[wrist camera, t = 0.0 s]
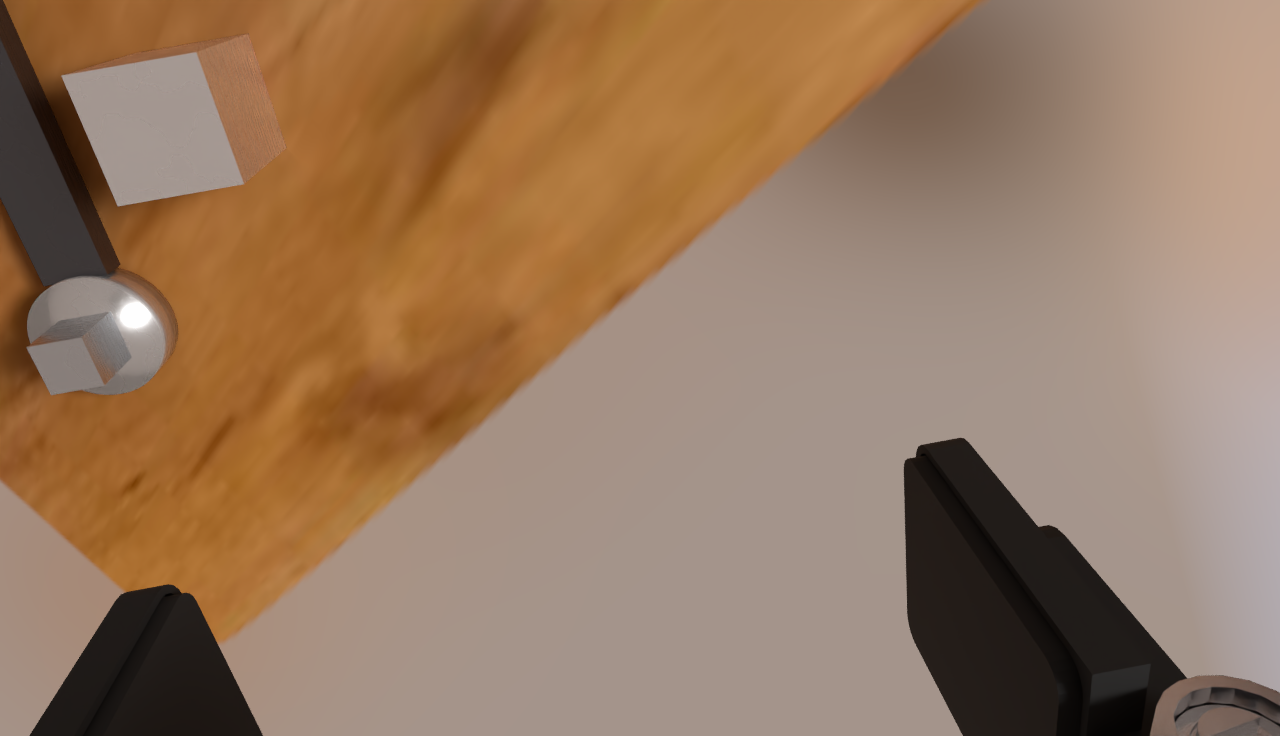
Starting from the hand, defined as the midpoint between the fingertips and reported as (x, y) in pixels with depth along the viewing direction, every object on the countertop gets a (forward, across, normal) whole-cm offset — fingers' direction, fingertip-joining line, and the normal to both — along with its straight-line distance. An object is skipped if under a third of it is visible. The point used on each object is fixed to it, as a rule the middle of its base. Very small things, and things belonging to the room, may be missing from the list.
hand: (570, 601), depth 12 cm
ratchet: (+37, +25, -1) cm, 45 cm away
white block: (+37, +16, -3) cm, 40 cm away
